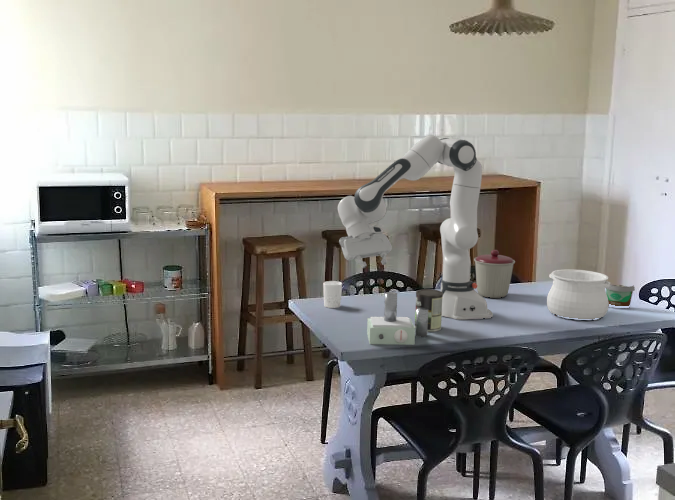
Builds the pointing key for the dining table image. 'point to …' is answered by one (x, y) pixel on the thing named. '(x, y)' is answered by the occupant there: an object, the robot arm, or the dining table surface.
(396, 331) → the scale
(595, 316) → the pot
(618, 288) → the food container
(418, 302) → the coffee can
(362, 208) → the robot arm
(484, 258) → the canister
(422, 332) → the spacer
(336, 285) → the white cup
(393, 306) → the cylinder
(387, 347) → the dining table surface
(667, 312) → the dining table surface
